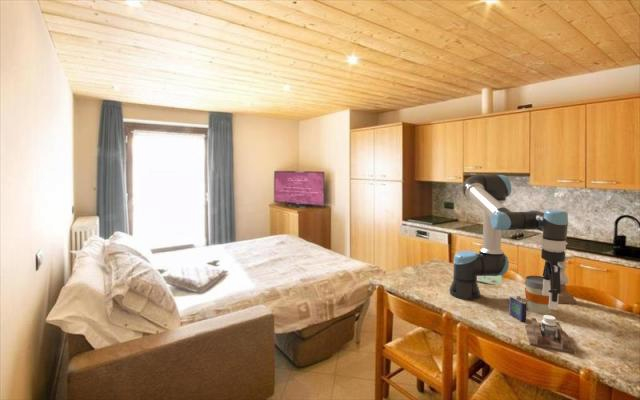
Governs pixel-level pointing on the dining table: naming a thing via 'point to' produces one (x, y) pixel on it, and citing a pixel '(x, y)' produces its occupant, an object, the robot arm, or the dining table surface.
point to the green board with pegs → (490, 279)
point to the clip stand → (557, 344)
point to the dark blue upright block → (518, 308)
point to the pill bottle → (548, 327)
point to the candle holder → (564, 295)
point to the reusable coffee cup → (536, 295)
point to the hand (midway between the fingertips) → (549, 301)
